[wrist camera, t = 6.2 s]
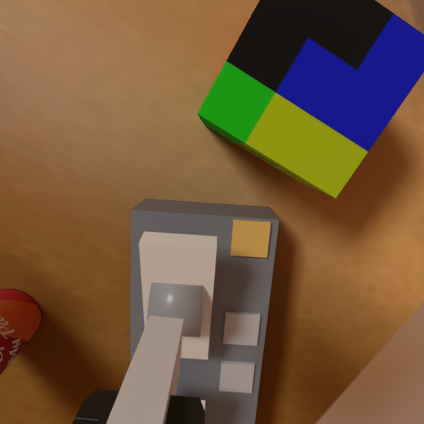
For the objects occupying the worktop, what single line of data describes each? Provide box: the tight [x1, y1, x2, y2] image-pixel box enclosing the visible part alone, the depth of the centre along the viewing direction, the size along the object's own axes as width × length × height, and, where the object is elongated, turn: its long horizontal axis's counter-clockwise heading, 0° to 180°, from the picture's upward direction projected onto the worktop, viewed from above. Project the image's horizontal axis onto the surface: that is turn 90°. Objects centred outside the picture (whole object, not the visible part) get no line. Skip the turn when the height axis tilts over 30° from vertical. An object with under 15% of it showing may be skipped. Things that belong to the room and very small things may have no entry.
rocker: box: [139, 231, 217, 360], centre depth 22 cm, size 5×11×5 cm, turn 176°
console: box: [130, 199, 279, 424], centre depth 29 cm, size 12×25×6 cm, turn 176°
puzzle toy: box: [198, 0, 424, 198], centre depth 22 cm, size 10×10×10 cm
